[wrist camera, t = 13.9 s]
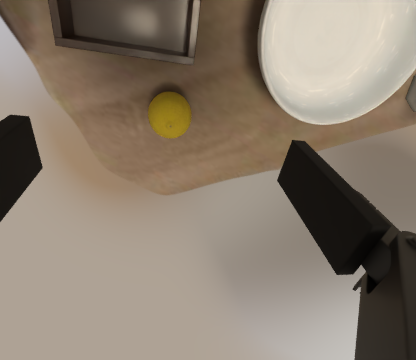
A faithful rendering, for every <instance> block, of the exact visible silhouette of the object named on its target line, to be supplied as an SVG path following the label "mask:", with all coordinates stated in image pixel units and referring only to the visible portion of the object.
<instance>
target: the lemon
mask: <svg viewBox="0 0 416 360" xmlns="http://www.w3.org/2000/svg"><path fill="white" fill-rule="evenodd" d="M148 118H149V122H150V125H151V127H152V128H153V130H154V131H155V132H156V133H157V134H159V135H160V136H162V137H165V138H176V137H179V136H181V135H182V134H184V133H185V132H186V131H187V129H188V127H189V126H190V122H191V109H190V106H189V104H188V102H187V101H186V99H185V98H184V97H183V96H181V95H180V94H178V93H175V92H169V91H168V92H162V93H160V94H158V95H157V96H156V97H155V98H154V99H153V100H152V102H151V103H150V106H149V109H148Z"/></svg>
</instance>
